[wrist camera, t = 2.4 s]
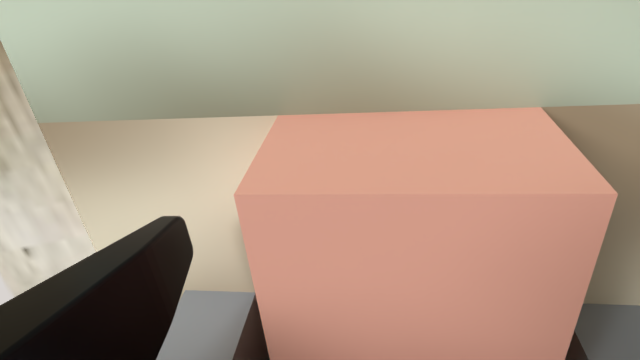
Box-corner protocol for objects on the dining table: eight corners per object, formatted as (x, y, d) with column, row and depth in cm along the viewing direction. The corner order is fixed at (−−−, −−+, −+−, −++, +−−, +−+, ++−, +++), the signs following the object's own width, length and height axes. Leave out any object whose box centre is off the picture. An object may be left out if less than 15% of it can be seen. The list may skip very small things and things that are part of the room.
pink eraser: (481, 418, 13) (506, 541, 10) (319, 406, 14) (304, 517, 11) (540, 107, 8) (618, 193, 5) (278, 115, 9) (233, 194, 6)
